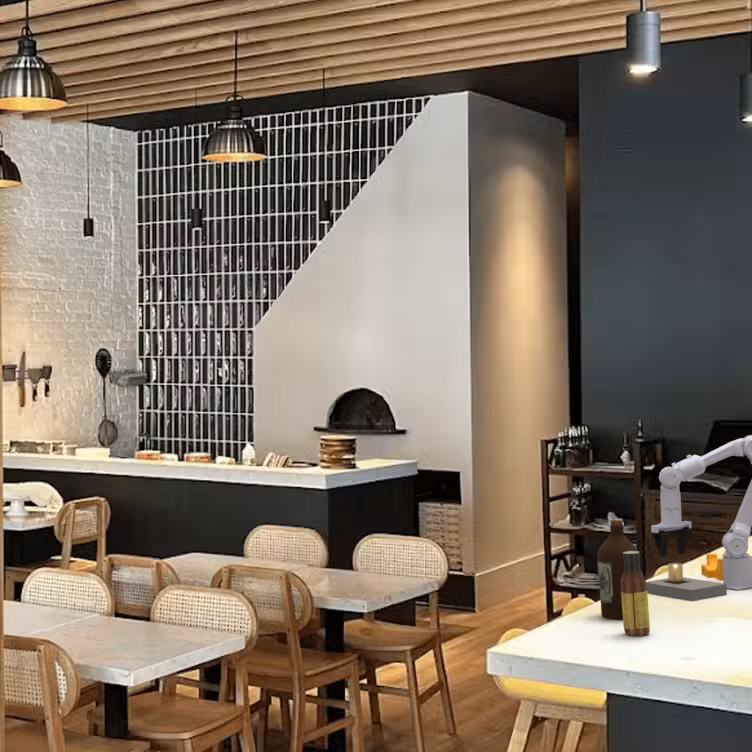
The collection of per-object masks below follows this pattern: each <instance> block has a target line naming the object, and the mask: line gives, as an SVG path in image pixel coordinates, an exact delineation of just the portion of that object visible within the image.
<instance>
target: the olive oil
mask: <svg viewBox="0 0 752 752" xmlns="http://www.w3.org/2000/svg"><path fill="white" fill-rule="evenodd" d="M609 523H610V525H609V532H610V535H609V536H608V538H607V539H606V540H604V542H603V543H602V544H601V545H600V546H599V549H598V552H597V555H596V560H597V562H596V563H597V574H598V585H599V586H598V587H599V598H600V611H601V617H602V618H604V619H607V620H615V621H623V611H622V597H621V577H622V575H623V573H624V571H625V570H624V558H623V552H627V551H638V549H637V548H636V547H635V545H634V544H633V543H632V542H631V541H630V540H629V539H628V538H627V537H626V536H625V534H624V524H623V523H624V520H623V519H611V520H610V522H609Z"/></svg>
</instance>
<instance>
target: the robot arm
mask: <svg viewBox="0 0 752 752" xmlns="http://www.w3.org/2000/svg"><path fill="white" fill-rule="evenodd" d="M732 456H735V457H744V456H745V457H747V459H748V460H749V461H750V464H751V465H752V434H750V435H746V436H745V437H743V438H742V437H740V438H737V439H735V440H732V441H729V442H727V443H726V444H724V445H722V446H721V445H720V446H719V447H718V448H715V449H714V450H711V451H709V452H708V453H706V454H704V455H701V456H700V455H697V454H693V455H691V454H688V455H686V458H685V459H682V460H680V461H678V462H673V463H671V466H666V467H664V468H662V469H661V471H660V472H659V476H658V479H659V482H660V483H661V484H660V486H659V487H660V518H661V519H660V520H661V521H660V522H659V523H658V524H654V525H651V527H650V529H651V532H650V535H651V537H652V539H653V541H654V543H655V545H656V547H657V551H658V555H659V557H661V558H667V557H668V543H669V539H670V535H671V534H670V533H666V532H669V531H673V533H674V536H675V538H676V546H677V548H676V549H677V553H678V554H679V555H685V554H686V551H687V548H688V547H687V546H688V544H689V540H690V538H691V536H692V534H693V529H692V521H688V520H684V521H682V502H681V501H682V499H681V498H682V497H681V494H682V493H681V492H680V484H681V482H686V481H688V480H691V479H693V478H695V477H698V476H700V475H701V474H703V473H705V471H706V468H707V467H708V466H711V465H713V464H716V463H717V462H719V461H722V460H724V459H727V458H729V457H732ZM735 517H736V518H735V520H734V522H733V523H732V524H731V526H730V528H729V530H728V531H727V532H726V533H725V534H723V537H722V539H721V544H722V547H723V548H724V550H725V551H724V552H723V554H722V558H723V582H722V583H723V584H726V587H727V589H730V590H736V591H740V590H745V589H751V588H752V555H749V553H747V552H748V550H749V538H750V535H751V528H752V479H751V480H750V483H749V485H748V486H747V489H746V492H745V494H744V497H743V500H742V502H741V505H740V507H739V510H738V512H737V514H736V516H735Z"/></svg>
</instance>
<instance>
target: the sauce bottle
mask: <svg viewBox="0 0 752 752" xmlns="http://www.w3.org/2000/svg"><path fill="white" fill-rule="evenodd" d="M623 558H624V570H625V571H624V573H623V575H622V577H621V597H622V611H623V620H622V621H623V622H622V623H623V630H624V633H625V634H626V635H627V636H634V637H637V636H640V635H641V637H642V636H646V635H648V634H650V632H651V629H650V626H651V623H650V612H649V601H648V600H649V598H648V593H647V588H646V582H647V580H646V578H645V576H644V574H643V572H642V570H641V561H640V558H641V553H640V551H638V550H637V551H627V552H623Z"/></svg>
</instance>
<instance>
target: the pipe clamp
mask: <svg viewBox="0 0 752 752" xmlns="http://www.w3.org/2000/svg"><path fill="white" fill-rule="evenodd" d="M700 566H701V567H700V568H701V576H704V577H706V578H708V579H716V580H718V581H722V580H723V557H722V558H718V554H717V553H706V564H701V565H700Z"/></svg>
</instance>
